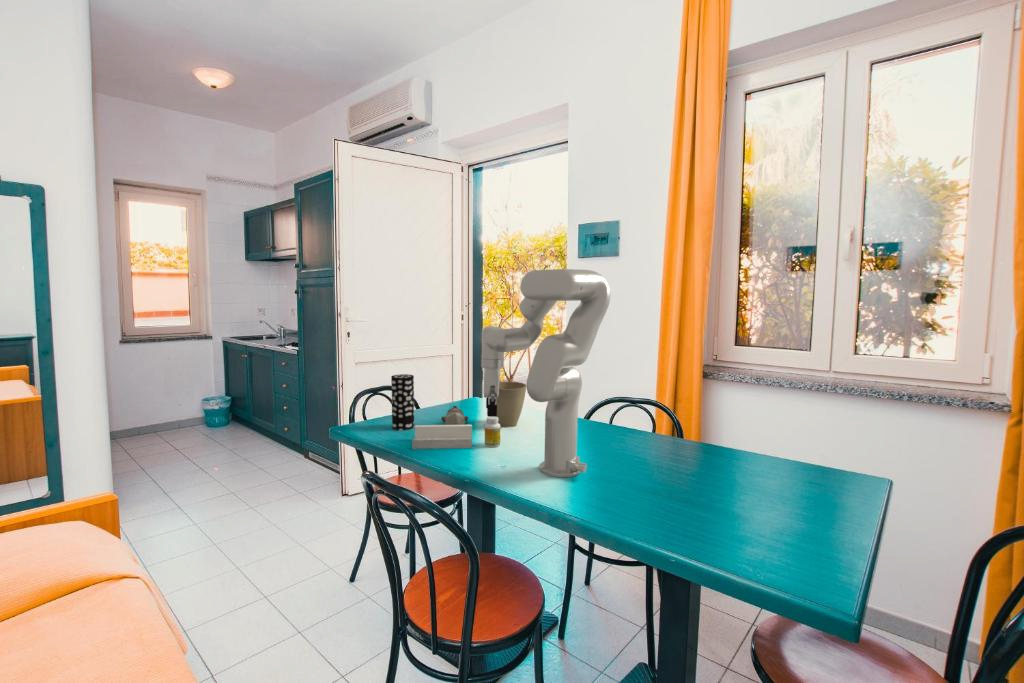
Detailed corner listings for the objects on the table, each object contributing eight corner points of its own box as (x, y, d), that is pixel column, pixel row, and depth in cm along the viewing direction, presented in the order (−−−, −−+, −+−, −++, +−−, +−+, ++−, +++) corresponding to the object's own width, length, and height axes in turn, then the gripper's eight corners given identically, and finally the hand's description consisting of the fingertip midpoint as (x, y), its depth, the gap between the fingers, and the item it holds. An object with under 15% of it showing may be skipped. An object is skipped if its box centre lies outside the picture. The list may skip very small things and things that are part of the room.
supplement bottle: (494, 448, 170) (494, 420, 169) (481, 445, 172) (481, 418, 171) (503, 444, 174) (503, 417, 173) (490, 441, 177) (490, 414, 176)
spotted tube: (411, 430, 189) (411, 378, 187) (389, 430, 189) (388, 378, 187) (416, 424, 198) (415, 374, 195) (395, 424, 198) (394, 374, 195)
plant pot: (487, 419, 206) (487, 381, 204) (523, 419, 207) (523, 381, 206) (489, 430, 191) (489, 389, 189) (528, 429, 193) (529, 388, 191)
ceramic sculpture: (440, 409, 187) (441, 402, 202) (440, 432, 187) (441, 423, 202) (469, 409, 188) (467, 402, 203) (469, 432, 189) (467, 423, 203)
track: (471, 438, 181) (472, 424, 180) (472, 447, 170) (472, 433, 170) (415, 439, 179) (415, 425, 179) (412, 448, 168) (412, 434, 168)
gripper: (480, 358, 179) (479, 405, 181) (482, 367, 161) (480, 419, 164) (501, 359, 179) (500, 405, 181) (505, 368, 162) (503, 419, 164)
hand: (491, 412), depth 173 cm, fingers open, 9 cm apart
